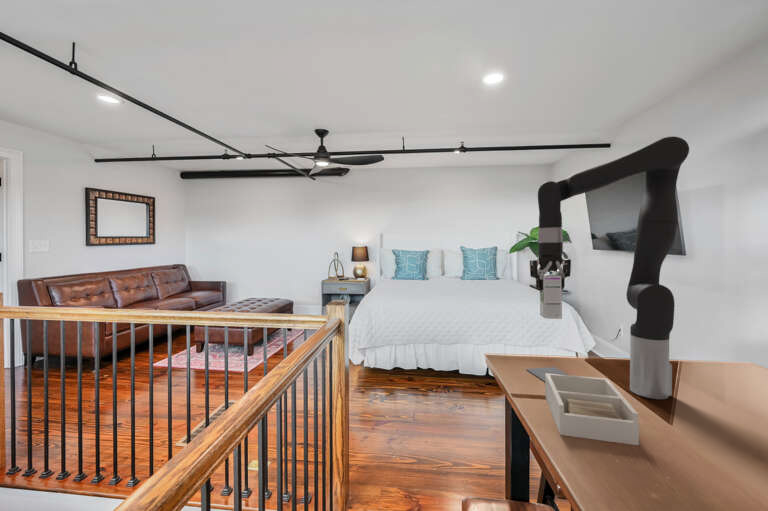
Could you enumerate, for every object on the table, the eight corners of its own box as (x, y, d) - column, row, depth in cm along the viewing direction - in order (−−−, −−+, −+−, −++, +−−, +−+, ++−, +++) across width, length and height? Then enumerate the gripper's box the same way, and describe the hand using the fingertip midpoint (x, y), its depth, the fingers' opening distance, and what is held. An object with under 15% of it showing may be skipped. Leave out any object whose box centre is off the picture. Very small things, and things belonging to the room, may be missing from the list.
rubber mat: (554, 368, 123) (554, 366, 123) (575, 380, 112) (575, 378, 112) (526, 370, 122) (526, 368, 122) (545, 382, 111) (545, 381, 111)
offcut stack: (563, 421, 87) (563, 398, 86) (617, 427, 83) (617, 403, 83) (567, 432, 82) (567, 407, 81) (625, 439, 78) (625, 414, 78)
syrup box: (562, 319, 113) (562, 275, 112) (543, 318, 114) (543, 275, 113) (557, 315, 118) (557, 274, 118) (539, 315, 119) (539, 274, 119)
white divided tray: (545, 396, 101) (545, 373, 100) (607, 402, 96) (607, 378, 96) (559, 434, 81) (559, 405, 80) (638, 445, 76) (639, 414, 76)
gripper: (562, 241, 120) (562, 287, 120) (524, 241, 118) (524, 289, 118) (577, 240, 112) (577, 290, 113) (537, 241, 110) (537, 292, 111)
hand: (550, 289), depth 116 cm, fingers closed on syrup box, 7 cm apart
